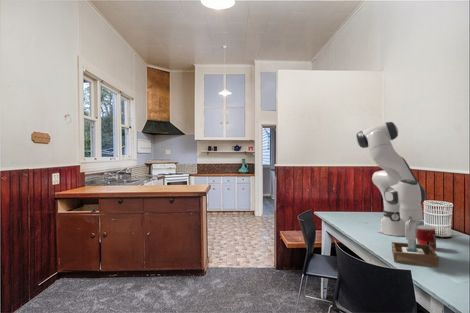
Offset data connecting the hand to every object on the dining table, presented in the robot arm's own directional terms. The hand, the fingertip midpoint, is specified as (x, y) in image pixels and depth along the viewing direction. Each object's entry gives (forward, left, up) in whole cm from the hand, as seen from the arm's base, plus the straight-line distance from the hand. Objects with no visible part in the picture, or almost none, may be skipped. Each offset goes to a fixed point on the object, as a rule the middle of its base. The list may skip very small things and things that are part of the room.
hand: (412, 245), depth 123 cm
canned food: (-19, +8, -7) cm, 22 cm away
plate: (0, 0, -6) cm, 6 cm away
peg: (0, 0, -6) cm, 6 cm away
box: (0, 0, -7) cm, 7 cm away
